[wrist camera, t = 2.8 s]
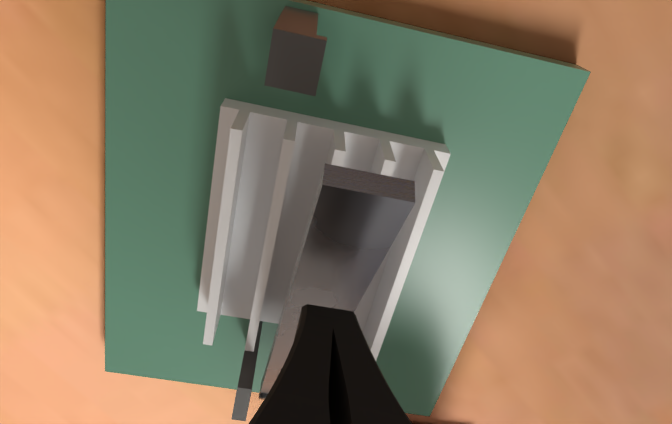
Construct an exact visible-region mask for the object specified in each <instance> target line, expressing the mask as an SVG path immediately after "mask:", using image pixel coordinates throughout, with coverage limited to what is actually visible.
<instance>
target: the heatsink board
mask: <svg viewBox="0 0 672 424" xmlns="http://www.w3.org/2000/svg"><path fill="white" fill-rule="evenodd" d="M589 74H590V71H588V70H586V69H584V68H582V67H580V66H578V65H576V64H572V63H568V62H563V61H559V60H555V59H551V58H547V57H542V56H538V55H534V54H530V53H526V52H522V51H517V50H513V49H509V48H505V47H501V46H496V45H492V44H488V43H484V42H480V41H475V40H471V39H467V38H463V37H459V36H455V35H450V34H446V33H442V32H438V31H434V30H429V29H425V28H421V27H417V26H413V25H408V24H404V23H400V22H396V21H392V20H388V19H383V18H379V17H375V16H371V15H367V14H362V13H358V12H354V11H350V10H346V9H342V8H337V7H333V6H329V5H325V4H321V3H316V2H312V1H308V0H106V72H105V371H107V372H114V373H121V374H129V375H136V376H143V377H150V378H157V379H165V380H172V381H179V382H186V383H193V384H201V385H208V386H215V387H222V388H229V389H237V392H236V398H235V403H234V409H233V414H232V419H234V420H241V421H246V416H247V411H248V406H249V401H250V396H251V392H258V393H259V392H260V387H261V381H262V378H263V375H264V372H265V368H266V365H267V361H268V358H269V354H270V351H271V348H272V344H273V341H274V337H275V334H276V330H277V327H278V323H279V320H280V317H281V313H282V310H283V306H284V303H285V299H286V296H287V292H288V289H289V285H290V282H291V279H292V275H293V272H294V268H295V265H296V261H297V258H298V254H299V251H300V248H301V244H302V241H303V237H304V234H305V230H306V227H307V223H308V220H309V216H310V213H311V210H312V206H313V203H314V199H315V196H316V192H317V189H318V185H319V182H320V179H321V175H322V172H323V168H324V165H325V163H326V164H331V165H336V166H341V167H346V168H351V169H356V170H361V171H366V172H371V173H376V174H381V175H386V176H391V177H396V178H401V179H406V180H411V181H415V204H414V206H413V208H412V210H411V211H410V213H409V215H408V217H407V218H406V220H405V222H404V224H403V226H402V227H401V229H400V231H399V233H398V235H397V236H396V238H395V240H394V242H393V244H392V245H391V247H390V249H389V251H388V252H387V254H386V256H385V258H384V260H383V261H382V263H381V265H380V267H379V269H378V270H377V272H376V274H375V276H374V277H373V279H372V281H371V283H370V285H369V286H368V288H367V290H366V292H365V294H364V295H363V297H362V299H361V301H360V303H359V304H358V306H357V308H356V310H355V311H354V314H355V315H356V317H357V320H358V323H359V325H360V327H361V330H362V332H363V335H364V337H365V339H366V341H367V344H368V346H369V348H370V350H371V352H372V354H373V356H374V359H375V361H376V363H377V364H378V366H379V368H380V370H381V372H382V374H383V376H384V378H385V380H386V382H387V383H388V385H389V387H390V389H391V391H392V392H393V394H394V396H395V397H396V399H397V401H398V402H399V404H400V406H401V407H402V409H403V411H404V412H405V413H409V414H416V415H424V416H430V415H431V413H432V410H433V408H434V406H435V404H436V402H437V400H438V398H439V395H440V393H441V391H442V389H443V387H444V385H445V383H446V380H447V378H448V376H449V374H450V372H451V370H452V368H453V365H454V363H455V361H456V359H457V357H458V355H459V353H460V350H461V348H462V346H463V344H464V342H465V340H466V338H467V336H468V333H469V331H470V329H471V327H472V325H473V323H474V321H475V318H476V316H477V314H478V312H479V310H480V308H481V306H482V303H483V301H484V299H485V297H486V295H487V293H488V291H489V288H490V286H491V284H492V282H493V280H494V278H495V276H496V273H497V271H498V269H499V267H500V265H501V263H502V261H503V258H504V256H505V254H506V252H507V250H508V248H509V246H510V243H511V241H512V239H513V237H514V235H515V233H516V231H517V228H518V226H519V224H520V222H521V220H522V218H523V216H524V214H525V211H526V209H527V207H528V205H529V203H530V201H531V199H532V196H533V194H534V192H535V190H536V188H537V186H538V184H539V181H540V179H541V177H542V175H543V173H544V171H545V169H546V166H547V164H548V162H549V160H550V158H551V156H552V154H553V151H554V149H555V147H556V145H557V143H558V141H559V139H560V136H561V134H562V132H563V130H564V128H565V126H566V124H567V121H568V119H569V117H570V115H571V113H572V111H573V109H574V106H575V104H576V102H577V100H578V98H579V96H580V94H581V92H582V89H583V87H584V85H585V83H586V81H587V79H588V77H589Z"/></svg>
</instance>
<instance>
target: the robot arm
mask: <svg viewBox="0 0 672 424" xmlns="http://www.w3.org/2000/svg"><path fill="white" fill-rule="evenodd" d="M249 424H412V423H411V421H410V420H409V418H408V417H407V415H406V414H405V412H404V411H403V409H402V407H401V406H400V404H399V402H398V401H397V399H396V397H395V396H394V394H393V392H392V391H391V389H390V387H389V385H388V383H387V382H386V380H385V378H384V376H383V374H382V372H381V370H380V368H379V366H378V364H377V363H376V361H375V359H374V356H373V354H372V352H371V350H370V348H369V346H368V344H367V341H366V339H365V337H364V335H363V332H362V330H361V327H360V325H359V323H358V320H357V317H356V315H355V314H354V312H353V311H348V310H342V309H335V308H329V307H323V306H317V305H310V304H306V305H304V306H302V309H301V313H300V317H299V321H298V326H297V330H296V334H295V338H294V342H293V345H292V347H291V350H290V352H289V354H288V357H287V359H286V361H285V363H284V365H283V367H282V369H281V371H280V373H279V375H278V377H277V378H276V380H275V382H274V384H273V386H272V388H271V389H270V391H269V393H268V395H267V396H266V398H265V400H264V401H263V403H262V404H261V406H260V407H259V409H258V411H257V412H256V414H255V415H254V417H253V418H252V420H251V421H250V422H249Z"/></svg>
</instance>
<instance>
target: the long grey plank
mask: <svg viewBox="0 0 672 424" xmlns="http://www.w3.org/2000/svg"><path fill="white" fill-rule="evenodd" d="M414 204H415V181H411V180H406V179H401V178H396V177H391V176H386V175H381V174H376V173H371V172H366V171H361V170H356V169H351V168H346V167H341V166H336V165H331V164H326V163H325V165H324V168H323V172H322V175H321V179H320V182H319V185H318V189H317V192H316V196H315V199H314V203H313V206H312V210H311V213H310V216H309V220H308V223H307V227H306V230H305V234H304V237H303V241H302V244H301V248H300V251H299V254H298V258H297V261H296V265H295V268H294V272H293V275H292V279H291V282H290V285H289V289H288V292H287V296H286V299H285V303H284V306H283V310H282V313H281V317H280V320H279V323H278V327H277V330H276V334H275V337H274V341H273V344H272V348H271V351H270V354H269V358H268V361H267V365H266V368H265V372H264V375H263V378H262V381H261V387H260V392H259V399H263V400H265V398H266V396H267V395H268V393H269V391H270V389H271V388H272V386H273V384H274V382H275V380H276V378H277V377H278V375H279V373H280V371H281V369H282V367H283V365H284V363H285V361H286V359H287V357H288V354H289V352H290V350H291V347H292V345H293V342H294V338H295V334H296V330H297V326H298V321H299V317H300V313H301V309H302V306H304V305H306V304H310V305H317V306H323V307H329V308H335V309H342V310H348V311H353V312H354V311H355V310H356V308H357V306H358V304H359V303H360V301H361V299H362V297H363V295H364V294H365V292H366V290H367V288H368V286H369V285H370V283H371V281H372V279H373V277H374V276H375V274H376V272H377V270H378V269H379V267H380V265H381V263H382V261H383V260H384V258H385V256H386V254H387V252H388V251H389V249H390V247H391V245H392V244H393V242H394V240H395V238H396V236H397V235H398V233H399V231H400V229H401V227H402V226H403V224H404V222H405V220H406V218H407V217H408V215H409V213H410V211H411V210H412V208H413V206H414Z"/></svg>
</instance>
